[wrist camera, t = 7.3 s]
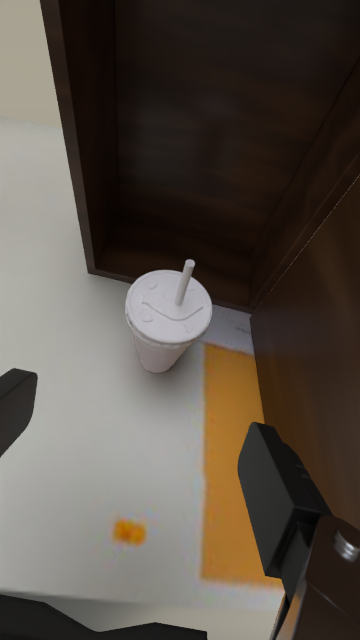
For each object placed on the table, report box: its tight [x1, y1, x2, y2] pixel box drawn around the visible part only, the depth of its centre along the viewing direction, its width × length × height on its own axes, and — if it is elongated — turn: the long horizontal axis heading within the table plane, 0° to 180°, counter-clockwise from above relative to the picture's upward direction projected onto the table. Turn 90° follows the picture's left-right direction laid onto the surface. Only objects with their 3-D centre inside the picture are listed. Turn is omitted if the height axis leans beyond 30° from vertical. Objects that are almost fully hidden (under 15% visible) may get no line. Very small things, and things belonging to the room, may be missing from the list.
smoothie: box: [125, 260, 212, 373], centre depth 22 cm, size 6×6×14 cm
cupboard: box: [40, 0, 360, 314], centre depth 23 cm, size 10×20×27 cm, turn 80°
